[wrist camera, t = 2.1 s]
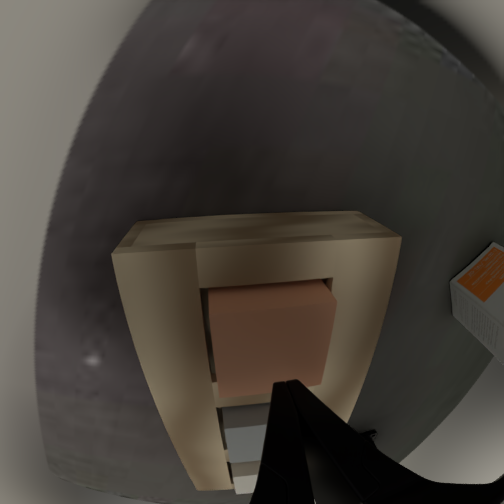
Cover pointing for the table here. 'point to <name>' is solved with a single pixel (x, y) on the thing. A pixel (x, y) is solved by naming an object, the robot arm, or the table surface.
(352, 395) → the wooden slotted tray
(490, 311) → the skincare box
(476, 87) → the table surface
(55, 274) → the table surface
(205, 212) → the table surface
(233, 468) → the offwhite key
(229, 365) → the terracotta key
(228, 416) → the grey key
